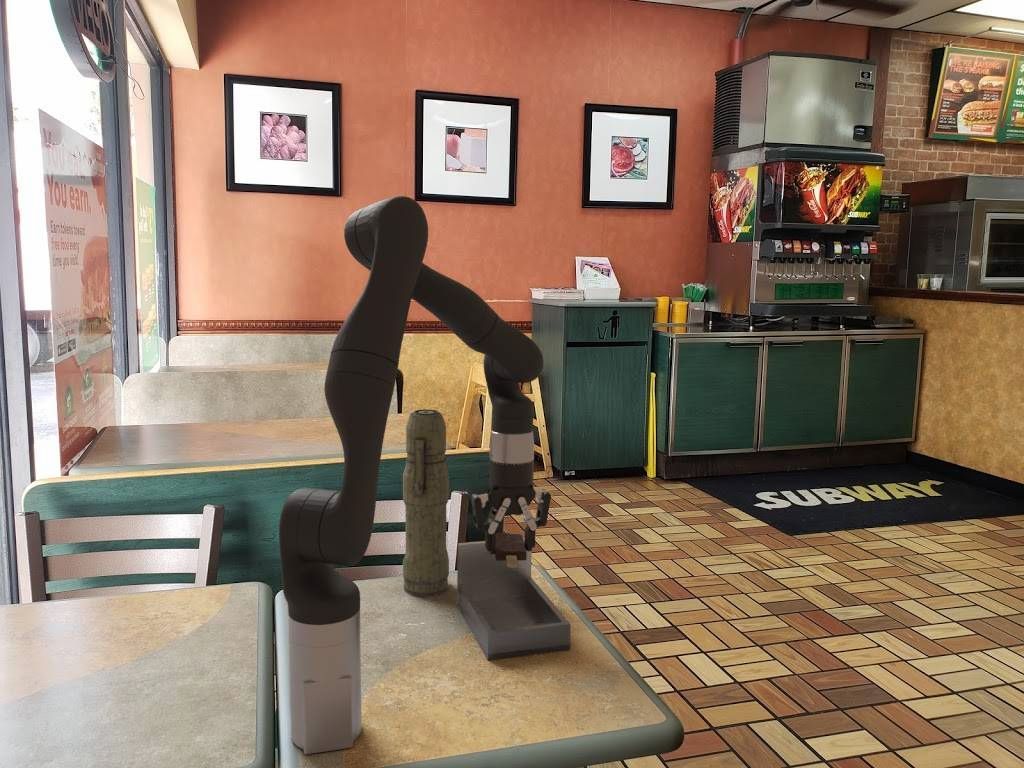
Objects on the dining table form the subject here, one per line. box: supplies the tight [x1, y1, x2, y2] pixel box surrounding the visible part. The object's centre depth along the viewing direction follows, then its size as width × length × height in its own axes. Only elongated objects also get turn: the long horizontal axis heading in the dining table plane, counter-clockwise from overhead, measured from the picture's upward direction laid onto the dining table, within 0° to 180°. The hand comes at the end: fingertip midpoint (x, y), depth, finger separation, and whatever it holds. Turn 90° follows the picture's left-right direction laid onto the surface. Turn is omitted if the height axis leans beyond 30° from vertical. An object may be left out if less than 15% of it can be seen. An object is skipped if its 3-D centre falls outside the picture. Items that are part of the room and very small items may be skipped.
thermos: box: [402, 408, 450, 597], centre depth 155 cm, size 9×12×35 cm
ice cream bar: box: [495, 532, 527, 568], centre depth 139 cm, size 5×2×15 cm
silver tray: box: [456, 537, 572, 661], centre depth 141 cm, size 24×14×12 cm, turn 17°
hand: (510, 551), depth 139 cm, fingers closed on ice cream bar, 6 cm apart
